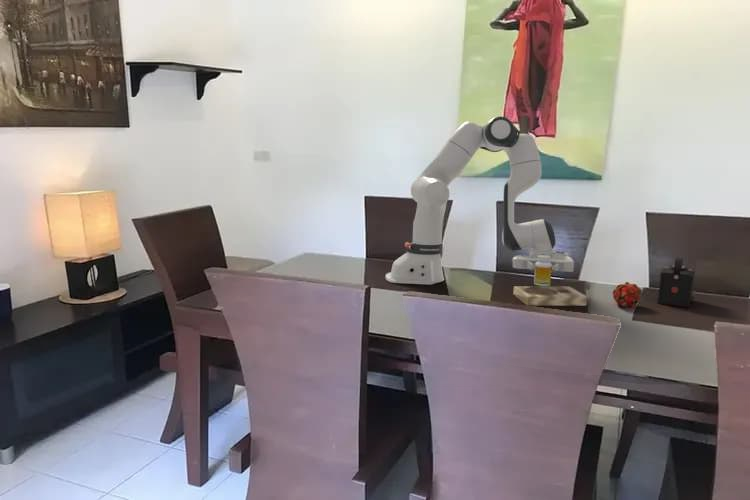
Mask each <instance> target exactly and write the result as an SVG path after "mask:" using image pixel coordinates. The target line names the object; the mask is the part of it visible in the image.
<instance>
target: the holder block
mask: <svg viewBox="0 0 750 500" xmlns="http://www.w3.org/2000/svg"><path fill="white" fill-rule="evenodd" d="M512 294H513V296H514V295H515V298H517V299H518V300H520V301H521V302H522V303H523V304H525V305H526V306H563V307H564V306H565V307H566V306H569V307H570V306H584V307H585V306H587V303H588V296H587V295H585V294H584V293H582V292H580V291H578V290H576V289H575V288H573V287H572V286H561V285H560V286H557V285H556V286H555V285H554V286H551V285H549V286H538V285H535V286H532V285H531V286H530V285H529V286H528V285H526V286H525V285H522V286H520V285H519V286H518V285H517V286H515V285H514V286H513V293H512Z"/></svg>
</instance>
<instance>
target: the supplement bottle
mask: <svg viewBox="0 0 750 500" xmlns="http://www.w3.org/2000/svg"><path fill="white" fill-rule="evenodd" d="M549 261H550V256H546V255H539V256H538V262H536V263H535V271H534V276H533V284H534V285H535V286H551V285H552V283H551V282H552V281H551V280H552V272H551V270H552V264H551V263H550V262H549Z"/></svg>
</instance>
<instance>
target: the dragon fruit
mask: <svg viewBox="0 0 750 500" xmlns="http://www.w3.org/2000/svg"><path fill="white" fill-rule="evenodd" d="M642 291H643V290H642V288H641V287H639V286H638V285H637V284H636V283H630V282H628V281H625V282H624V283H621V284H618V285H617V286H616V287H615V288H614V290H613V291H612V297H613V299H614V302H616V305H617V308H625V307H630V308H635V307H636V306H637V304H639V303H641V302H642V301H643V298H641V296H642V293H643V292H642Z"/></svg>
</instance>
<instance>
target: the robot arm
mask: <svg viewBox="0 0 750 500" xmlns="http://www.w3.org/2000/svg"><path fill="white" fill-rule="evenodd" d="M479 149H481V150H485V151H488V152H491V153H492V152H493V153H497V152H501V151H503V152H505V153H506V155H507V158H508V160H509V162H508V163H509V166H510V167H509V168H510V175H509V178H508V180H507V181H506V182H505V183H504V186H503V202H502V203H503V207H502V208H503V218H502V219H503V221H502V223H503V226H502V227H503V228H502V233H501V240H502V241H501V242H502V244H503V246H504V248H505V249H507V250H508V251H510V252H513V253H514V252H518V251H522V250H525V249H531V250H530V252H529V255H520V254H519V255H515V256H514V257H513V258H512V259H511V261H512V268H513V269H518V270H519V269H521V270H530V271H531V270H532V271H534V272H535V263H536V262H538V256H539V255H546V256H550V261H549V262H550V263H551V264H552V270H551V273H554V272H557V273H558V272H560V273H561V272H562V273H563V272H564V273H573V272H574V268H575V262H574V260H573V258H572V257H571V256H569V253H567V252H564V251H563V252H562V251H557V250H554V248H555V246H556V237H555V232H554V228H553V226H552V224H551V223H550V222H549V221H548V220H547V219H544V218H542V219H535V220H531V221H527V222H522V223H516V222H515V201H516V199H517V198H518V197H519V196H520V195H521V194H523V193H524V192H526V191H528V190H529V189H532V188H533V186H535V185H536V184H537V183H538V182H539V181H540V179H542V175H543V174H542V173H543V172H542V171H543V170H542V162H541V156H540V153H539V150H538V145H537V143H536V140H535V138H534V136H532V135H530V134H528V133H520V130H519V129H518V128H517V127H516V126H515V124H514V123H513V121H511V119H509V118H508V117H505V116H496V117H495V116H494V117H493V118H491V119H489V120H488V122H487V123H486V124H484V125H479V124H477V123H475V122H474V121H465V122H464V123H463V122H462V124H461V125H460V126H459V127H457V129H456V130H455V131H454V132H453V133H452V134H451V136H450V137H449V138H448V140H447V141H446V142H445V144H444V145H443V147H442V148H441V149H440V151H439V152H438V154H437V155H436V156H435V158H434V159H433V160H432V161H431V162H430V164H428V166H427V167H425V169H424V170H422V172H421V174H420V175H418V177H417V178H416V179H415V180H413V182H412V184H411V187H410V194H411V196H412V199H413V201H414V202H416V204H417V205H416V210H415V211H416V212H415V215H414V219H413V222H412V242H408V241H406V242H405V243H404V246H405V248H406V252H405V253H404V254H402V255H401V256H400V257H397V259H395V260H394V261H393V263H392V265H391V266H392V267H391V271H390V272H387V273H386V274H385V280H386V281H387V282H389V283H394V284H411V285H412V284H414V285H429V286H431V285H434V284H438V283H441V282H444V280H445V278H444V272H443V264H442V263H443V262H442V257H443V255H444V254H443V253H444V252H443V251H444V247H443V245H444V244H443V243H442V242H443V241H442V239H443V225H444V217H445V212H446V209H447V203H448V201H449V198H450V190H449V187H448V186H449V185H450V184H451V183H452V182H453V181H455V179H456V178H458V177H459V176H460V175H461V173H462V172H463V170H465V168H466V166H467V165H468V163H470V161H471V160H472V158H473V157H474V156H475V154H476V153H477V151H478V150H479Z"/></svg>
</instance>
